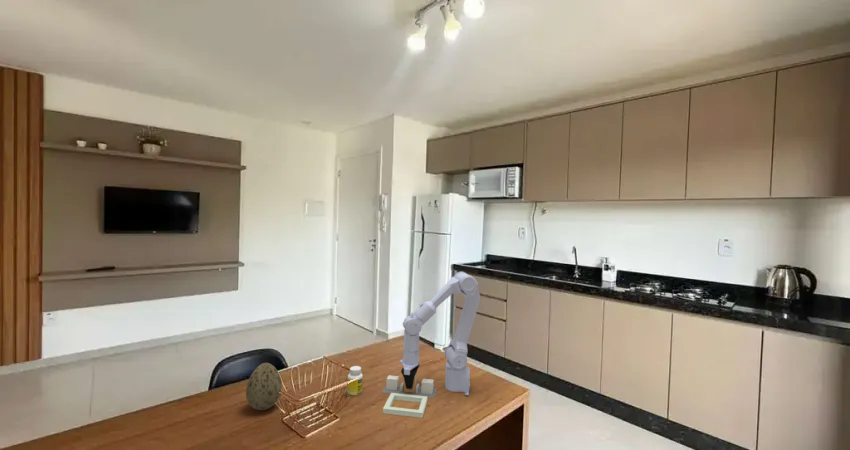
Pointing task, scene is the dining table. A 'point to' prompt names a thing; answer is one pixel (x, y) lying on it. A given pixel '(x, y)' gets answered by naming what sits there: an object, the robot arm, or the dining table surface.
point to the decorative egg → (263, 387)
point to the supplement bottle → (355, 386)
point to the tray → (404, 411)
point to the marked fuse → (412, 387)
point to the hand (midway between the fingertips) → (410, 386)
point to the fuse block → (422, 390)
